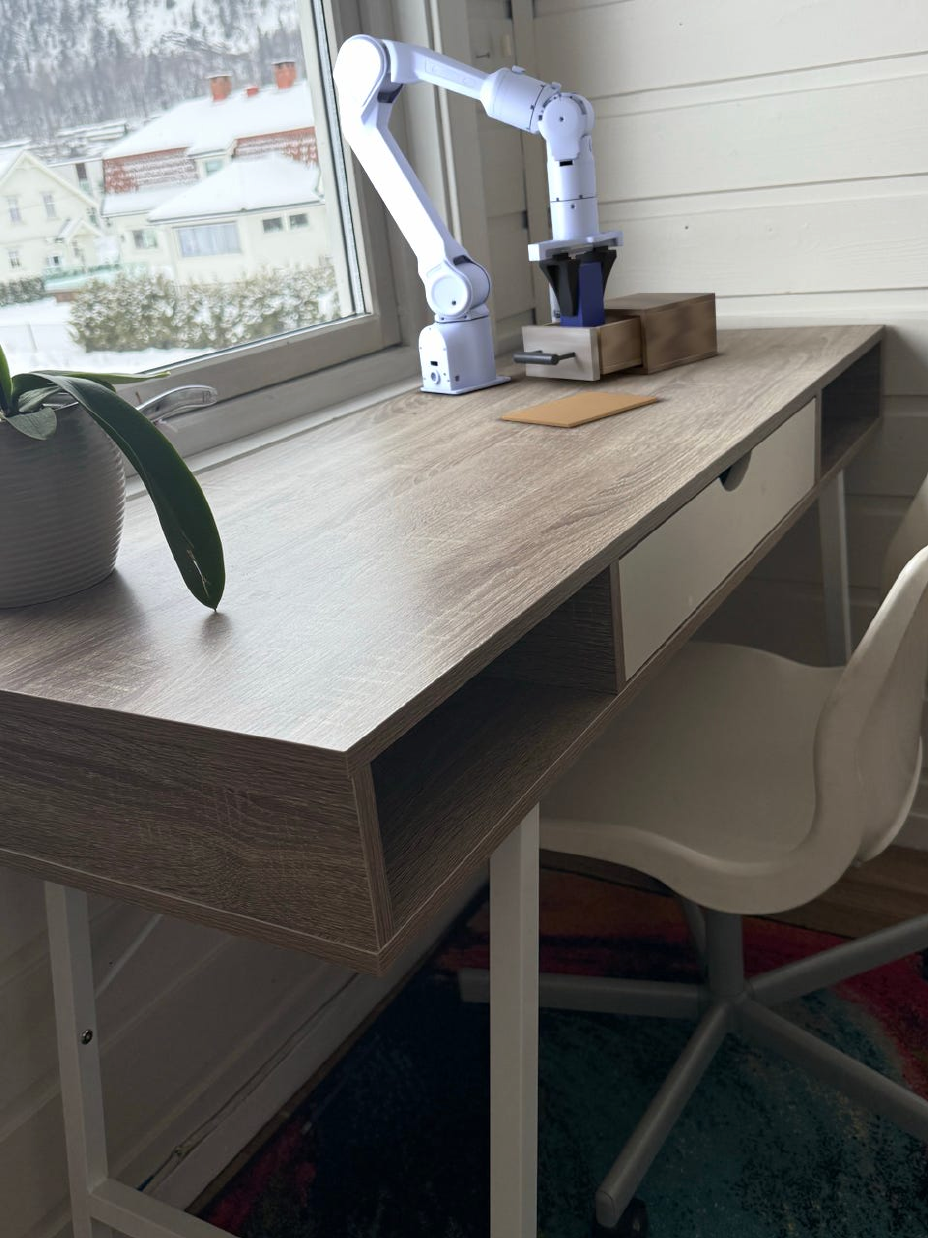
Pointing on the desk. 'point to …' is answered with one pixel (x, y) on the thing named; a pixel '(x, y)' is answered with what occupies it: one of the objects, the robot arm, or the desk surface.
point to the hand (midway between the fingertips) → (581, 312)
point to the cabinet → (670, 327)
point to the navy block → (588, 298)
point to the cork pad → (579, 409)
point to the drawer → (581, 348)
